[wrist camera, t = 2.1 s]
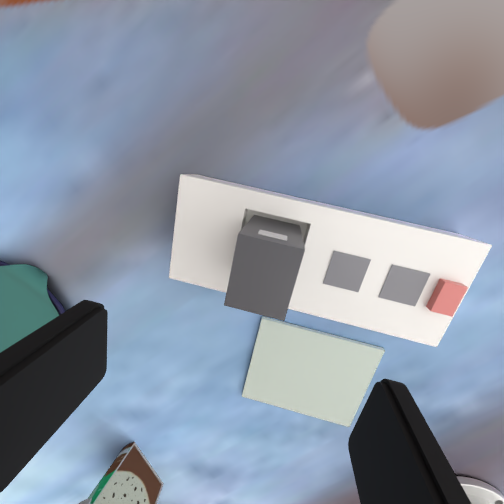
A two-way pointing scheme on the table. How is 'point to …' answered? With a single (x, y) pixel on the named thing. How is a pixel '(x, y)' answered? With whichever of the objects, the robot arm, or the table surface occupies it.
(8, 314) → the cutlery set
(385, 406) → the robot arm
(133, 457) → the food container
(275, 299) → the block
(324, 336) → the mat
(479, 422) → the table surface
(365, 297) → the power strip
